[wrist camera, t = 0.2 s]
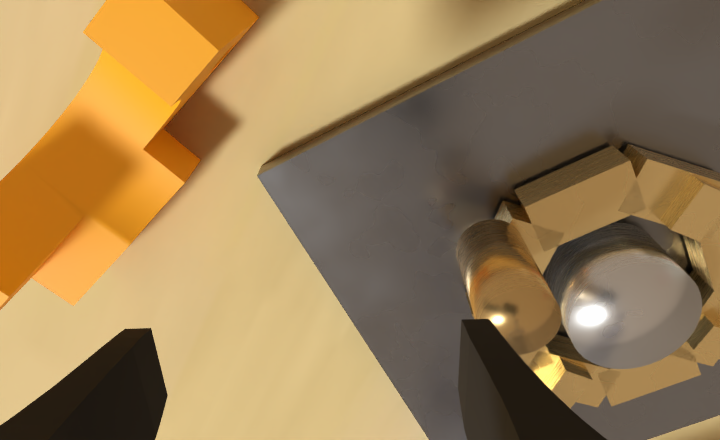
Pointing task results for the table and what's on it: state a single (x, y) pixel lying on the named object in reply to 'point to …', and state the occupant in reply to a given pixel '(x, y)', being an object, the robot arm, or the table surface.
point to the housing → (497, 183)
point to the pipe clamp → (112, 144)
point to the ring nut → (574, 219)
